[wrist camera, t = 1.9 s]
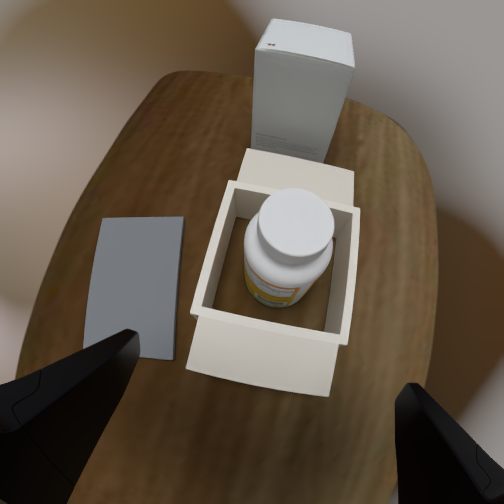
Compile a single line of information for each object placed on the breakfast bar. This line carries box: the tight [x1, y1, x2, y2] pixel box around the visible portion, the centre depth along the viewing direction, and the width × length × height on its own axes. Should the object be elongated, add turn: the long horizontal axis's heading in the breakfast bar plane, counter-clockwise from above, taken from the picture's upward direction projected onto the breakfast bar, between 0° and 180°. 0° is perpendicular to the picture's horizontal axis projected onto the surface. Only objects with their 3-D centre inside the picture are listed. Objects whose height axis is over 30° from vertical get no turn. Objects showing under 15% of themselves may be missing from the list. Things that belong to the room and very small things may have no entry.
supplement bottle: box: [244, 188, 334, 307], centre depth 19 cm, size 5×5×10 cm
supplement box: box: [251, 19, 355, 164], centre depth 23 cm, size 7×7×13 cm
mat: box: [83, 217, 185, 360], centre depth 23 cm, size 12×8×1 cm, turn 0°
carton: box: [186, 148, 360, 397], centre depth 21 cm, size 17×10×4 cm, turn 168°
